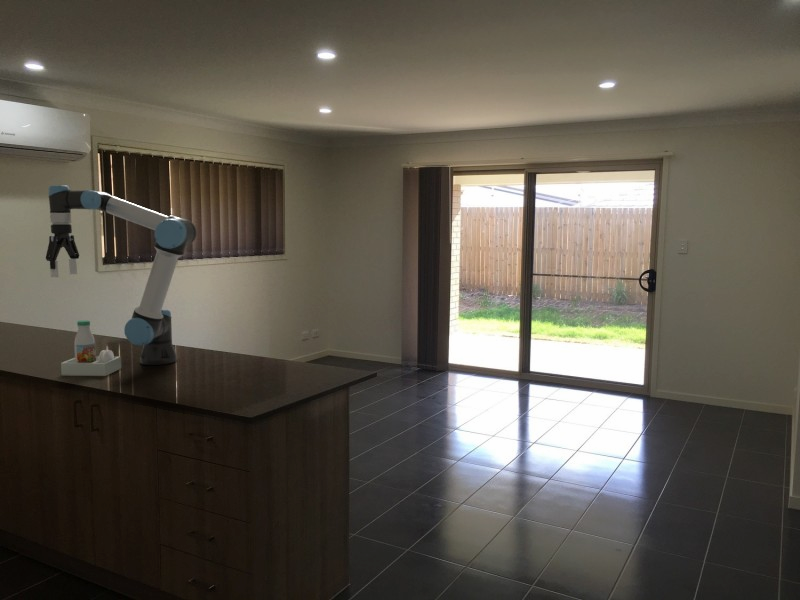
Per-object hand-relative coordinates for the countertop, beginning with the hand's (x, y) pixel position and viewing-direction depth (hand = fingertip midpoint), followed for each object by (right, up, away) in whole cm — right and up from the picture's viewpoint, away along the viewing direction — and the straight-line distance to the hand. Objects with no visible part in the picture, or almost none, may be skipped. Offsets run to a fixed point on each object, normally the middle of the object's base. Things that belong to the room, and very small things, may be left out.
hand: (64, 275), depth 268 cm
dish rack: (+13, -39, -2) cm, 41 cm away
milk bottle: (+10, -39, -2) cm, 40 cm away
